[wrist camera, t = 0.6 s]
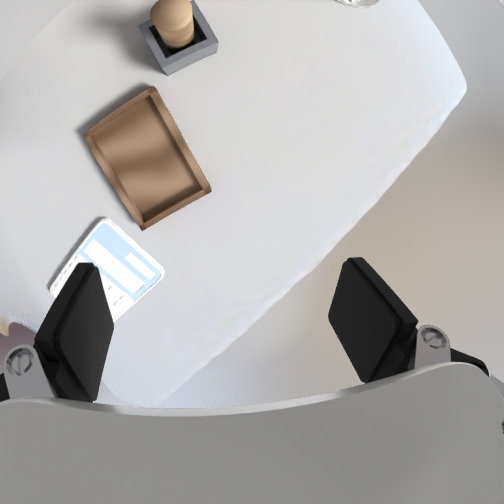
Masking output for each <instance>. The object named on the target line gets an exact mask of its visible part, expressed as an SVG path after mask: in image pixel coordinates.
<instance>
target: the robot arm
mask: <svg viewBox="0 0 504 504" xmlns="http://www.w3.org/2000/svg"><path fill="white" fill-rule="evenodd" d="M336 1H338V2H340V3H343V4H345V5H348V6H351V7H356V8H367V7H371V6H373V5H375V4H377V3H378V2H379V1H380V0H336ZM497 1H498V2H499V3H500V4H501V5H502V6H503V7H504V0H497ZM328 318H329V321H330V324H331V325H332V327H333V329H334V331H335V333H336V335H337V336H338V338H339V340H340V342H341V344H342V346H343V348H344V349H345V351H346V353H347V355H348V357H349V359H350V361H351V363H352V365H353V366H354V368H355V370H356V372H357V374H358V376H359V378H360V380H361V381H362V382H365V384H363V385H359V386H355V387H351V388H347V389H343V390H339V391H334V392H329V393H325V394H320V395H314V396H309V397H304V398H298V399H292V400H285V401H279V402H271V403H263V404H254V405H244V406H232V407H218V408H186V409H185V408H179V409H178V408H145V407H130V406H118V405H106V404H98V403H92V402H93V401H95V400H96V399H97V396H98V390H99V386H100V381H101V377H102V372H103V368H104V364H105V360H106V356H107V352H108V348H109V345H110V341H111V337H112V334H113V330H114V322H113V319H112V315H111V312H110V309H109V305H108V302H107V299H106V295H105V291H104V288H103V284H102V280H101V276H100V272H99V268H98V267H97V266H94V264H93V263H92V262H79V263H78V264H77V265H76V266H75V268H74V270H73V271H72V273H71V274H70V276H69V277H68V279H67V281H66V282H65V284H64V285H63V287H62V289H61V290H60V292H59V294H58V296H57V297H56V299H55V301H54V302H53V304H52V306H51V308H50V310H49V311H48V313H47V315H46V317H45V319H44V321H43V323H42V325H41V326H40V328H39V330H38V332H37V334H36V337H35V339H34V340H35V343H34V346H33V347H32V346H30V345H26V344H25V345H19V346H16V347H14V348H13V349H11V350H10V351H9V352H8V353H7V355H6V357H5V358H4V362H3V371H4V373H2V374H0V504H504V383H502V382H501V381H500V380H498V379H497V378H495V377H494V376H492V375H490V376H489V373H488V369H487V367H486V365H485V364H484V362H483V361H481V360H479V359H477V358H474V357H472V356H469V355H467V354H464V353H461V352H459V351H456V350H454V349H452V348H450V342H449V338H448V337H447V335H446V334H445V333H444V332H443V331H442V330H441V329H439V328H438V327H435V326H433V325H423V326H421V327H420V328H419V329H418V330H417V328H416V325H417V323H418V320H417V319H416V317H415V316H414V315H413V314H412V312H411V311H410V310H409V309H408V308H407V306H406V305H405V304H404V303H403V302H402V301H401V300H400V299H399V297H398V296H397V295H396V294H395V293H394V291H393V290H392V289H391V288H390V287H389V286H388V285H387V284H386V282H385V281H384V280H383V279H382V278H381V277H380V276H379V275H378V274H377V273H376V271H375V270H374V269H373V268H372V267H371V266H370V265H369V264H368V263H367V262H366V261H365V260H364V258H362V257H356V258H348V259H347V261H345V262H344V263H343V265H342V269H341V273H340V276H339V280H338V283H337V287H336V290H335V294H334V297H333V300H332V304H331V307H330V310H329V314H328Z"/></svg>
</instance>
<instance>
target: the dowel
mask: <svg viewBox="0 0 504 504" xmlns="http://www.w3.org/2000/svg"><path fill="white" fill-rule="evenodd" d="M150 15H151V19H152V21H153V23H154V25H155V26H156V28H157V30H158V32H159V34H160V36H161V38H162V39H163V41H164V43H165V45H166V47H167V49H168V50H169V51H170V52H171V53H172V54H176V53H178V52H180V51H182V50H184V49H186V48H189V47H191V46H193V45H195V36H194V26H193V14H192V5H191V2H190V1H189V0H159V1H157V2H156V3H155V4H154V6H153V7H152V9H151V13H150Z"/></svg>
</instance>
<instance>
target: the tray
mask: <svg viewBox="0 0 504 504" xmlns="http://www.w3.org/2000/svg"><path fill="white" fill-rule="evenodd" d="M83 137H84V139H85V140H86V142H87V144H88V146H89V148H90V149H91V151H92V153H93V155H94V156H95V158H96V160H97V161H98V163H99V165H100V166H101V168H102V170H103V171H104V173H105V175H106V176H107V178H108V180H109V181H110V183H111V184H112V186H113V188H114V189H115V191H116V192H117V194H118V196H119V197H120V199H121V200H122V202H123V203H124V205H125V206H126V208H127V209H128V211H129V213H130V214H131V216H132V217H133V219H134V220H135V222H136V223H137V224H138V226H139V227H140V229H141V230H142V231H143V230H145V229H147V228H148V227H150V226H152V225H153V224H155V223H157V222H158V221H160V220H162V219H163V218H165V217H167V216H169V215H170V214H172V213H174V212H176V211H177V210H179V209H181V208H183V207H184V206H186V205H188V204H190V203H192V202H194V201H195V200H197V199H199V198H201V197H203V196H205V195H206V194H208V193H210V192H212V191H211V187H210V185H209V183H208V181H207V180H206V178H205V176H204V174H203V172H202V171H201V169H200V167H199V165H198V163H197V162H196V160H195V158H194V156H193V154H192V153H191V151H190V149H189V147H188V145H187V144H186V142H185V140H184V138H183V136H182V135H181V133H180V131H179V129H178V127H177V125H176V124H175V122H174V120H173V118H172V116H171V115H170V113H169V111H168V109H167V107H166V106H165V104H164V102H163V100H162V98H161V96H160V95H159V93H158V91H157V89H156V87H154V86H152V87H150V88H148V89H147V90H145V91H143V92H142V93H140V94H139V95H137V96H135V97H134V98H132V99H131V100H129V101H128V102H126V103H125V104H123V105H122V106H120V107H119V108H117V109H116V110H114V111H113V112H112V113H110V114H109V115H107V116H106V117H105V118H103V119H102V120H101V121H99V122H98V123H97V124H95V125H94V126H93V127H91V128H90V129H89V130H87V131H86V132H85V133H84V134H83Z"/></svg>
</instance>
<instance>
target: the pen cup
mask: <svg viewBox="0 0 504 504" xmlns="http://www.w3.org/2000/svg"><path fill="white" fill-rule="evenodd" d="M190 2H191V5H192V14H193V26H194V36H195V45H193V46H191V47H189V48H186V49H184V50H182V51H180V52H178V53H176V54H172V53H171V52H170V51H169V50H168V49H167V47H166V45H165V43H164V41H163V39H162V38H161V36H160V34H159V32H158V30H157V28H156V26H155V25H154V23H153V21H152V19H151V20H149V21H147V22H145V23H143V24H141V25H140V26H138V27H139V28H140V30H141V32H142V34H143V36H144V37H145V39H146V41H147V43H148V45H149V46H150V48H151V50H152V52H153V54H154V55H155V57H156V59H157V61H158V63H159V64H160V66H161V68H162V70H163V71H164V72H165V73H166V74H167V75H168V76H169V75H171V74H172V73H174V72H176V71H178V70H180V69H182V68H184V67H186V66H188V65H190V64H192V63H194V62H196V61H199V60H201V59H203V58H205V57H207V56H210V55H212V54H214V53H216V52H217V47H218V43H219V42H218V40H217V38H216V36H215V35H214V33H213V31H212V29H211V28H210V26H209V24H208V23H207V21H206V19H205V17H204V16H203V14H202V13H201V11H200V9H199V8H198V6H197V4H196V3H195V1H194V0H192V1H190Z"/></svg>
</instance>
